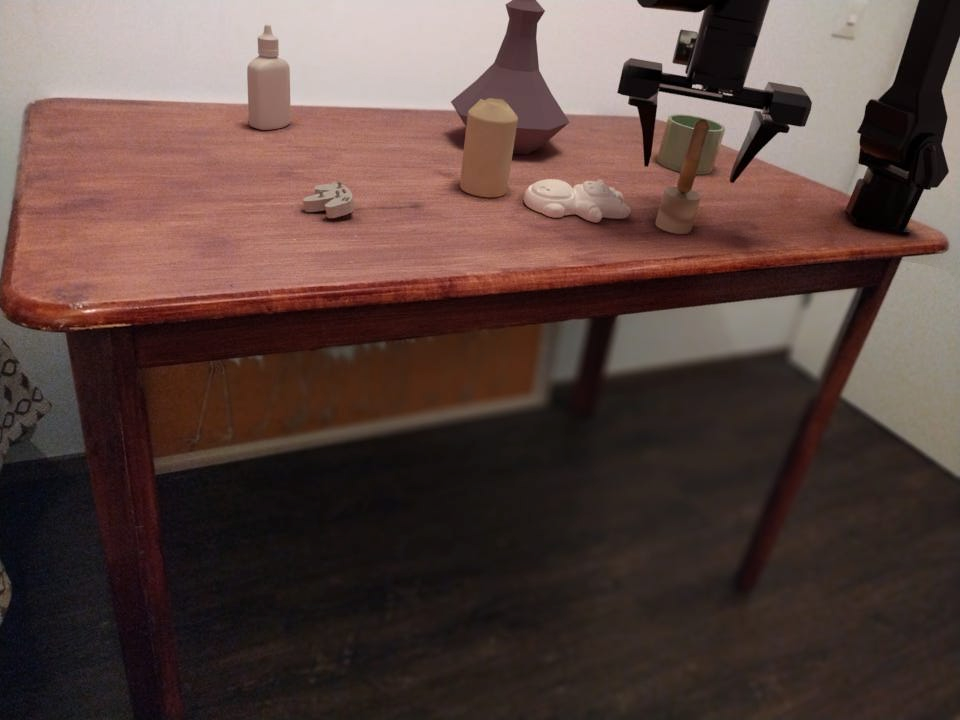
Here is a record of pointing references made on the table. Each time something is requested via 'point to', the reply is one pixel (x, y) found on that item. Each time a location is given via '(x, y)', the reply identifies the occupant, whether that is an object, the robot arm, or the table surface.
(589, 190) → the astronaut figurine
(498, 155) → the candle
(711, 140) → the scrub cup
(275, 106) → the eye dropper bottle
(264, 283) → the table surface
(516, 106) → the purple faceted vase
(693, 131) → the brush
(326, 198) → the game controller
